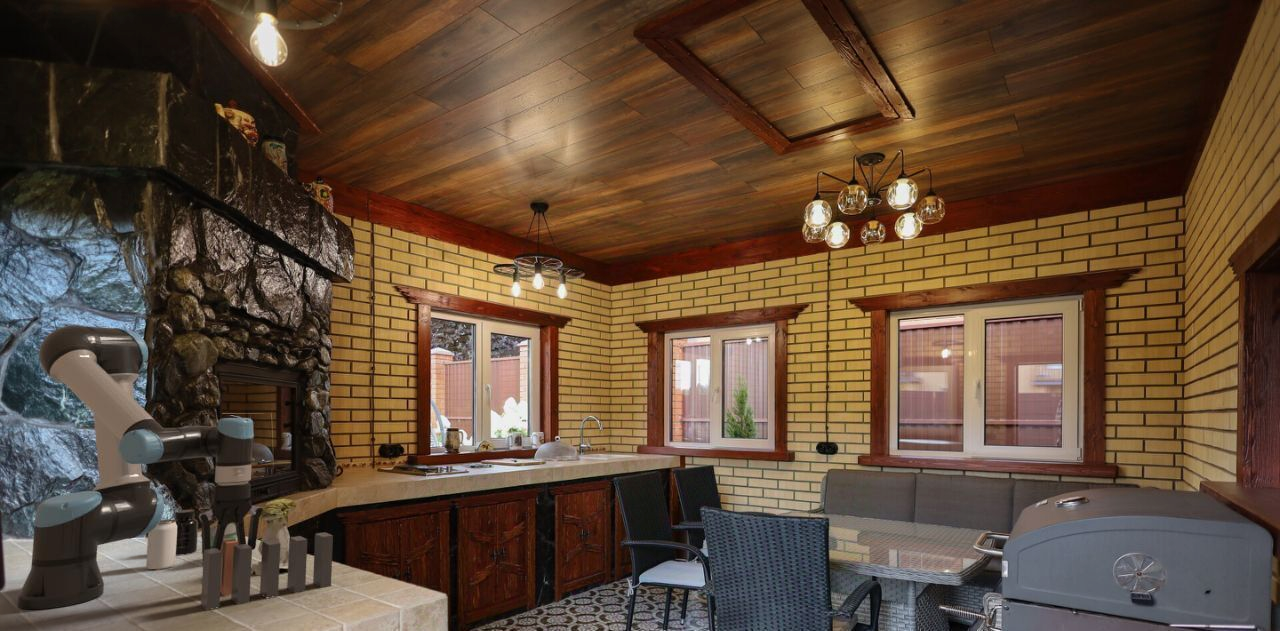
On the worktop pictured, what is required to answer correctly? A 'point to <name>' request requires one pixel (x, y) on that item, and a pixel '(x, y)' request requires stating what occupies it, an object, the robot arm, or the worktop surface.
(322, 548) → the domino
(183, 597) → the worktop surface
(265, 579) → the domino
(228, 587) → the domino
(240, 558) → the domino
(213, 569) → the domino
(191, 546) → the supplement bottle
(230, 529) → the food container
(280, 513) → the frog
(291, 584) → the domino
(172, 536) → the can
